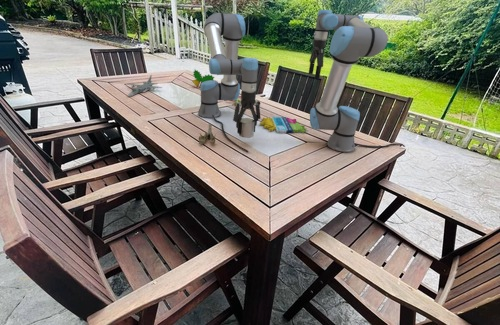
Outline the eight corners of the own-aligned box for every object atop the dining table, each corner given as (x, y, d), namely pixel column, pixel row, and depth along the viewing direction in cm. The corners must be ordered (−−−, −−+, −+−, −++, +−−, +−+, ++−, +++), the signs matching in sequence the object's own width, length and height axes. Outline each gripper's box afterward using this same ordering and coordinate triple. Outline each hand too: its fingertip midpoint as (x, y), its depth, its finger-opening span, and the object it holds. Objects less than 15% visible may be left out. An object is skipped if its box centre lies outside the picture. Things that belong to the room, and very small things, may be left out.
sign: (308, 131, 166) (261, 129, 163) (307, 133, 167) (261, 132, 164) (299, 117, 188) (257, 116, 186) (298, 119, 189) (257, 118, 186)
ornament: (209, 91, 261) (213, 76, 259) (211, 91, 253) (215, 75, 251) (188, 84, 252) (192, 69, 250) (190, 84, 245) (194, 68, 243)
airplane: (122, 86, 237) (119, 75, 232) (157, 84, 250) (156, 74, 245) (126, 99, 209) (123, 86, 204) (166, 96, 222) (165, 84, 217)
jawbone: (218, 127, 153) (216, 117, 144) (216, 150, 146) (215, 141, 137) (202, 127, 153) (199, 117, 144) (200, 150, 146) (197, 140, 137)
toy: (261, 91, 228) (254, 99, 202) (261, 99, 231) (253, 108, 205) (231, 87, 233) (220, 95, 207) (230, 95, 236) (219, 104, 210)
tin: (246, 130, 149) (246, 116, 145) (256, 135, 144) (257, 120, 140) (235, 134, 143) (236, 119, 139) (246, 139, 139) (247, 124, 135)
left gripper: (233, 94, 125) (232, 137, 136) (269, 91, 134) (265, 132, 145) (226, 90, 130) (225, 132, 141) (262, 87, 140) (259, 127, 151)
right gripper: (308, 37, 167) (302, 72, 177) (320, 40, 145) (313, 80, 155) (319, 38, 167) (313, 72, 178) (333, 41, 146) (325, 80, 156)
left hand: (246, 132), depth 143 cm, fingers closed on tin, 8 cm apart
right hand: (313, 76), depth 167 cm, fingers open, 13 cm apart
